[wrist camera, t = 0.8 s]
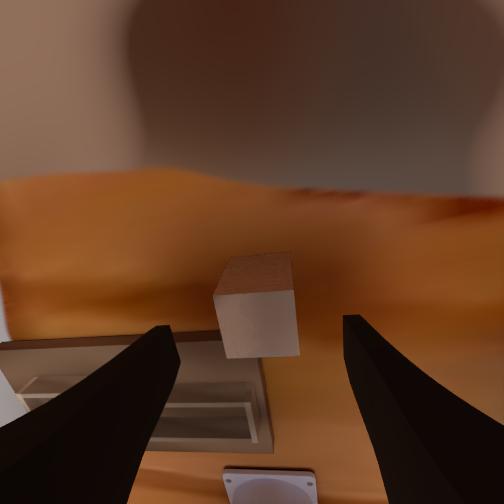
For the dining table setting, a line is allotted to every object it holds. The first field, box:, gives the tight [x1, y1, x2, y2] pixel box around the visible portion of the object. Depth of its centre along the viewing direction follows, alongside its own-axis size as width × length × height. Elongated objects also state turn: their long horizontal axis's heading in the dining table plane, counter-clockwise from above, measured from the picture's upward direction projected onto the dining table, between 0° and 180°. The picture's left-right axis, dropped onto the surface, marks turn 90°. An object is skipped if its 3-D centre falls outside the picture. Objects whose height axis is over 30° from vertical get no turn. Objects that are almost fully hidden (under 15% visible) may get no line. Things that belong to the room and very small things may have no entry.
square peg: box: [213, 251, 300, 359], centre depth 14 cm, size 4×4×4 cm
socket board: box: [0, 331, 274, 454], centre depth 19 cm, size 11×20×2 cm, turn 98°
